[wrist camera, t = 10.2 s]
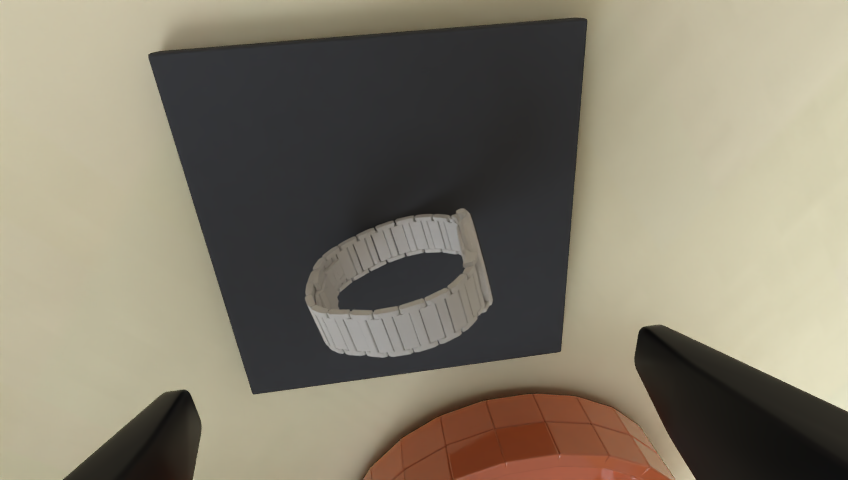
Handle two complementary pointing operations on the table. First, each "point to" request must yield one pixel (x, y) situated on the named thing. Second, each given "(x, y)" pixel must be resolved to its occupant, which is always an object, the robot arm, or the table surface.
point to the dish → (525, 444)
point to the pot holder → (381, 180)
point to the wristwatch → (405, 327)
